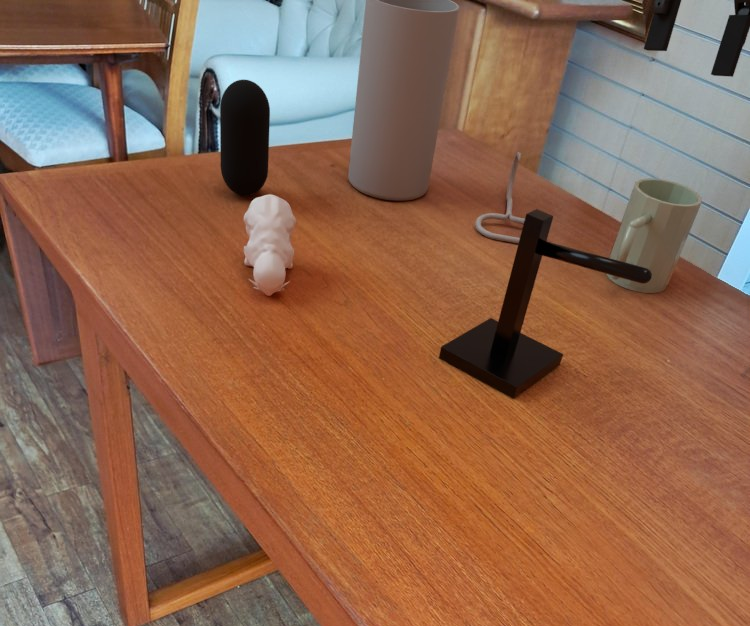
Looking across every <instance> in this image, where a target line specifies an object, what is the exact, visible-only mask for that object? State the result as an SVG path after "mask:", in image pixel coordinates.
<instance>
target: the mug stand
mask: <svg viewBox="0 0 750 626" xmlns="http://www.w3.org/2000/svg"><path fill="white" fill-rule="evenodd" d="M524 219H525V221H524V225H523V224H522V229H521V233H520V236H519V238H520V240H519V244H517V247H516V252H515V255H514V260H513V263H512V267H511V271H510V275H509V279H508V283H507V286H506V290H505V294H504V297H503V302H502V306H501V310H500V313H499V317H498V320H496V319H494V318H493V317H489V318H488V319H486V320H485V321H483V322H481V323H480V324H478V325H476V326H474V327H473V328H471V329H470V330H467V331H466V332H464V333H462V334H459V336H456V337H455V338H453V339H452V340H450V341H448V342H447V343H445V344H444V345H441V346H440V350H439V355H438V358H439V359H440V360H441V361H443V362H446V363H447V364H450V365H451V366H453V367H455V368H457V369H458V370H459V371H462V372H464V373H466V374H467V375H469V376H472V378H475V379H476V380H479V381H481V382H482V383H483V384H486V385H488V386H489V387H491V388H493V389H495V390H497V391H498V392H499V393H502V394H504V395H506V396H507V397H510V398H512V399H515V398H516V397H517V396H519V395H520V394H522V393H523V392H525V391H526V390H527V389H528V388H529V389H530V387H531V386H534V384H536V383H537V382H538V381H540V380H541V379H543V378H544V377H546V376H547V375H548V374H550V373H551V372H552V371H553V370H556V369H557V368H558V367H559V366H560V365H561V363H562V360H563V357H564V354H563V353H562V352H560V351H557V350H555V349H554V348H552V347H550V346H548V345H546V344H543V342H541V341H538V340H536V339H533V338H532V337H529V336H528V335H526V334H524V333H522V329H523V325H524V321H525V318H526V315H527V310H528V308H529V304H530V301H531V300H530V299H531V297H532V293H533V290H534V287H535V283H536V279H537V275H538V272H539V269H540V265H541V261H542V259H543V257H546V258H549V259H553V260H556V261H560V262H564V263H567V264H570V265H575V266H578V267H581V268H585V269H588V270H591V271H594V272H595V271H596V272H599V273H603V274H605V275H606V274H610V275H613V276H617V277H620V278H624V279H627V280H631V281H634V282H638V283H642V284H645V283H648V282H649V281H650V280H651V278H652V273H651V271H650V270H649V269H647V268H644V267H640V266H636V265H633V264H629V263H625V262H621V261H618V260H614V259H610V258H609V257H607V256H603V255H599V254H595V253H591V252H589V251H584V250H580V249H577V248H573V247H569V246H566V245H562V244H560V243H559V244H558V243H554V242H551V241H548V237H549V234H550V231H551V227H552V223H553V219H554V215H552V214H551V213H548V212H545V211H543V210H540V209H538V208H536V209H533V210H531V211H529V212H527V213H525V217H524Z"/></svg>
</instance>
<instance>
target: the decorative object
mask: <svg viewBox="0 0 750 626" xmlns="http://www.w3.org/2000/svg"><path fill="white" fill-rule="evenodd" d="M219 104H220V105H219V124H220V125H219V127H220V128H219V130H220V133H219V136H220V137H219V138H220V139H219V143H220V172H221V176H222V179H223V182H224V184H225V185H226V186H227V187H228V189H229V190H230V191H232V192H233V193H234V194H236V195H239V196H245V197H248V196H252V195H254V194H257V193H258V192H260V190H261V189H262V188H263V187H264V185H265V184H266V181H267V178H268V174H269V154H270V152H269V151H270V124H271V123H270V122H271V120H270V119H271V108H270V103H269V98H268V96H267V95H266V93H265V91H264V89H263V88H262V87H261V86H260V85H259V84H257V83H256V82H254V81H252V80H250V79H238V80H235V81H233V82H231V83H230V84H229V85H228V86H227V87H226V88H225V90H224V91H223V93H222V96H221V98H220V103H219Z"/></svg>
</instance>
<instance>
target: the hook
mask: <svg viewBox="0 0 750 626" xmlns="http://www.w3.org/2000/svg"><path fill="white" fill-rule="evenodd" d="M521 157H522V153H521V152H520V151H517V152H515V156H514V159H513V162H512V166H511V169H510V174H509V179H508V184H507V188H506V194H505V195H506V196H505V201H506V212H505V213H506V214H503V213H496V212H490V213H489V212H488V213H484V214H481V215H479V216H478V217H477V218H476V220H475V223H474V225H475V229H476V230H477V231H478V232H479V234H480V235H482V236H484V237H486V238H489V239H491V240H497V241H502V242H505V243H513V244H517V245H518V244H519V240H520V237H517V236H512V235H505V234H501V233H494V232H492V231H489V230H487V229H485V227H483V226H482V222H484V221H487V220H499V221H506V220H507V219H508V220H509V221H510V222H512V223H515V224H520V225H522V226H523V225H524V221H525V218H523V217H518V216H515V215H513V202H514V201H513V198H512V196H513V195H512V194H513V189H514V184H515V179H516V174H517V170H518V166H519V163H520V160H521Z"/></svg>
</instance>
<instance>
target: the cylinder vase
mask: <svg viewBox="0 0 750 626" xmlns="http://www.w3.org/2000/svg"><path fill="white" fill-rule="evenodd" d="M459 12H460V5H459V4H458V3H456V2H455V1H453V0H365V6H364V16H363V25H362V34H361V35H362V36H361V44H360V45H361V46H360V54H359V65H358V73H357V74H358V75H357V84H356V92H355V93H356V94H355V103H354V115H353V122H352V134H351V143H350V153H349V162H348V163H349V164H348V173H347V177H348V181H349V183H350V185H351V186H352V187H353V188H354V189H356V190H357V191H358V192H360V193H362V194H364V195H367V196H369V197H372V198H376V199H379V200H383V201H384V200H386V201H394V202H401V201H402V202H404V201H412V200H415V199H419V198H421V197H422V196H424V195H425V194H426V193H427V191H428V190H429V185H430V180H431V174H432V169H433V162H434V157H435V151H436V146H437V140H438V133H439V128H440V122H441V115H442V110H443V104H444V99H445V93H446V87H447V86H446V85H447V81H448V76H449V75H448V74H449V69H450V65H451V64H450V63H451V58H452V53H453V52H452V51H453V47H454V40H455V34H456V27H457V22H458V17H459Z"/></svg>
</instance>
